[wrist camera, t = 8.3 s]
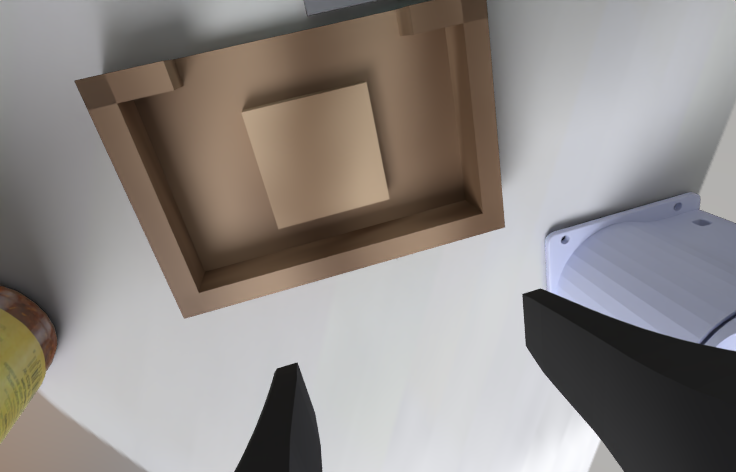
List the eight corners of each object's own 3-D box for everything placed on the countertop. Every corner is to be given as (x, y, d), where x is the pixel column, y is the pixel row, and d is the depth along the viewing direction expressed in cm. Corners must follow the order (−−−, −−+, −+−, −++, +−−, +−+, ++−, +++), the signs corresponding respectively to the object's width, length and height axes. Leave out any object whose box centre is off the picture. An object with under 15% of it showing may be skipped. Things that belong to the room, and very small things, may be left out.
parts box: (457, -4, 19) (485, -12, 17) (479, 207, 23) (504, 227, 21) (102, 76, 18) (74, 80, 15) (193, 287, 22) (184, 318, 19)
